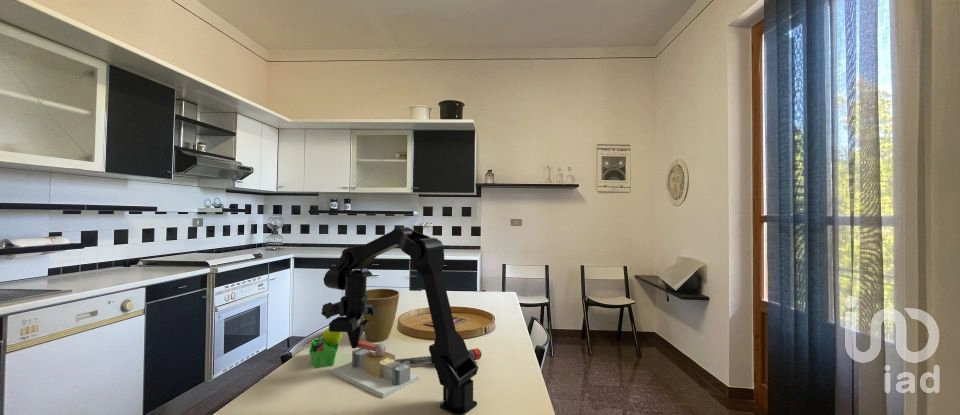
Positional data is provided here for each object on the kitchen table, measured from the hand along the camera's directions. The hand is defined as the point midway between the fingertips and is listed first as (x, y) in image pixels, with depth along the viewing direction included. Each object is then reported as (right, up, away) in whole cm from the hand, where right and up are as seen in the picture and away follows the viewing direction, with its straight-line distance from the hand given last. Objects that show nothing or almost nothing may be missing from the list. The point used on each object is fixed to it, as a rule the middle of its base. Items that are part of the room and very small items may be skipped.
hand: (353, 348), depth 101 cm
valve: (+23, -8, +8) cm, 25 cm away
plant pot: (-1, -7, +27) cm, 28 cm away
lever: (+4, -1, 0) cm, 4 cm away
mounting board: (+6, -7, -2) cm, 10 cm away
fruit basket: (-11, -7, +8) cm, 15 cm away
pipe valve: (+8, -7, -2) cm, 11 cm away
